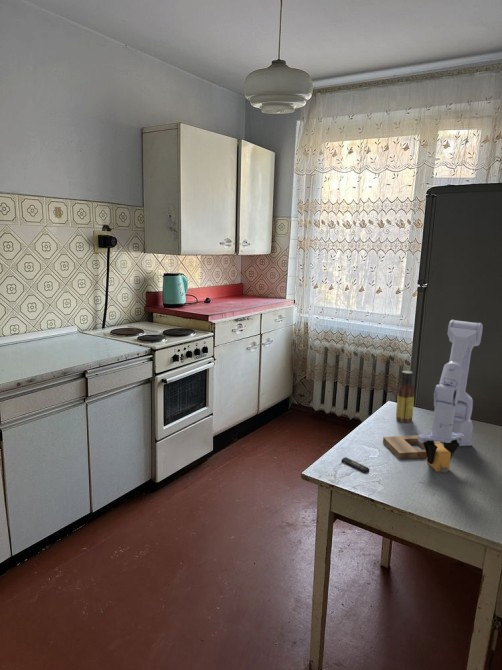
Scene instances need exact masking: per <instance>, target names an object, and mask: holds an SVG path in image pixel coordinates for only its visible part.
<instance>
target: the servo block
mask: <svg viewBox="0 0 502 670" xmlns="http://www.w3.org/2000/svg"><path fill="white" fill-rule="evenodd" d="M435 445H436V446H437V449H436V452H435V455H434V461H433V464H430V463H429V462H428V461H427V460H426V463H427V464H428V465H429V466H430V467H431V468H432V469H433V470H435V471H436V472H441V474H442V473H446V474H447V473H448V472H449V471H450V465H451V459H450V457H451V452H449V451H448V450H447V449H446V448H444V447H443V446H442V445H441V444H435ZM451 458H452V457H451Z"/></svg>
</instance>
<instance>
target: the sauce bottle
mask: <svg viewBox="0 0 502 670" xmlns="http://www.w3.org/2000/svg"><path fill="white" fill-rule="evenodd" d="M413 374H414V373H413V371H412V370H401V381H400V382H401V383H400V384H399V385H398V387H397V394H396V395H397V397H396V414H395V415H396V417H395V418H396V420H397V421H398V422H402V423H411V422H412V421H413V418H414V406H415V405H414V402H415V388H414V384H413V376H414V375H413Z"/></svg>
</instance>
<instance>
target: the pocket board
mask: <svg viewBox="0 0 502 670" xmlns="http://www.w3.org/2000/svg"><path fill="white" fill-rule="evenodd" d="M418 435H419V434H418ZM418 435H417V434H416V435H399V436H398V435H397V436H396V435H395V436H383V438H382V443H383V445H385V446H386V447H387V448H388V449H389V450H390V451H391V453H393V454H394V455H395V456H396V458H397V459H399V460H400V459H403V460H404V459H417V458H418V459H419V458H420V459H421V458H427V454H426V450H425V447H424V444H423V443H420V442H419V441H418ZM434 443H435V444H441V445H442V446H443V447H444V443H442V442H441V441H435V442H434ZM412 445H418V446H419V447H420V448H421V449H419V448H415V447H413V446H412Z"/></svg>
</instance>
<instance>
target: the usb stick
mask: <svg viewBox="0 0 502 670" xmlns="http://www.w3.org/2000/svg"><path fill="white" fill-rule="evenodd" d="M341 463H344V464H345V465H346V466H347V465H348V466H349V467H351V468H353V469H355V470H358V471H360V472H361V473H364V474H367V473H369V472H370V468H369V467H368V466H365V465H363V464H361V463H359V462H357V461H355V460H352V459H350V458H348V457H346V456H345V457H343V458H342V459H341Z"/></svg>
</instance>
